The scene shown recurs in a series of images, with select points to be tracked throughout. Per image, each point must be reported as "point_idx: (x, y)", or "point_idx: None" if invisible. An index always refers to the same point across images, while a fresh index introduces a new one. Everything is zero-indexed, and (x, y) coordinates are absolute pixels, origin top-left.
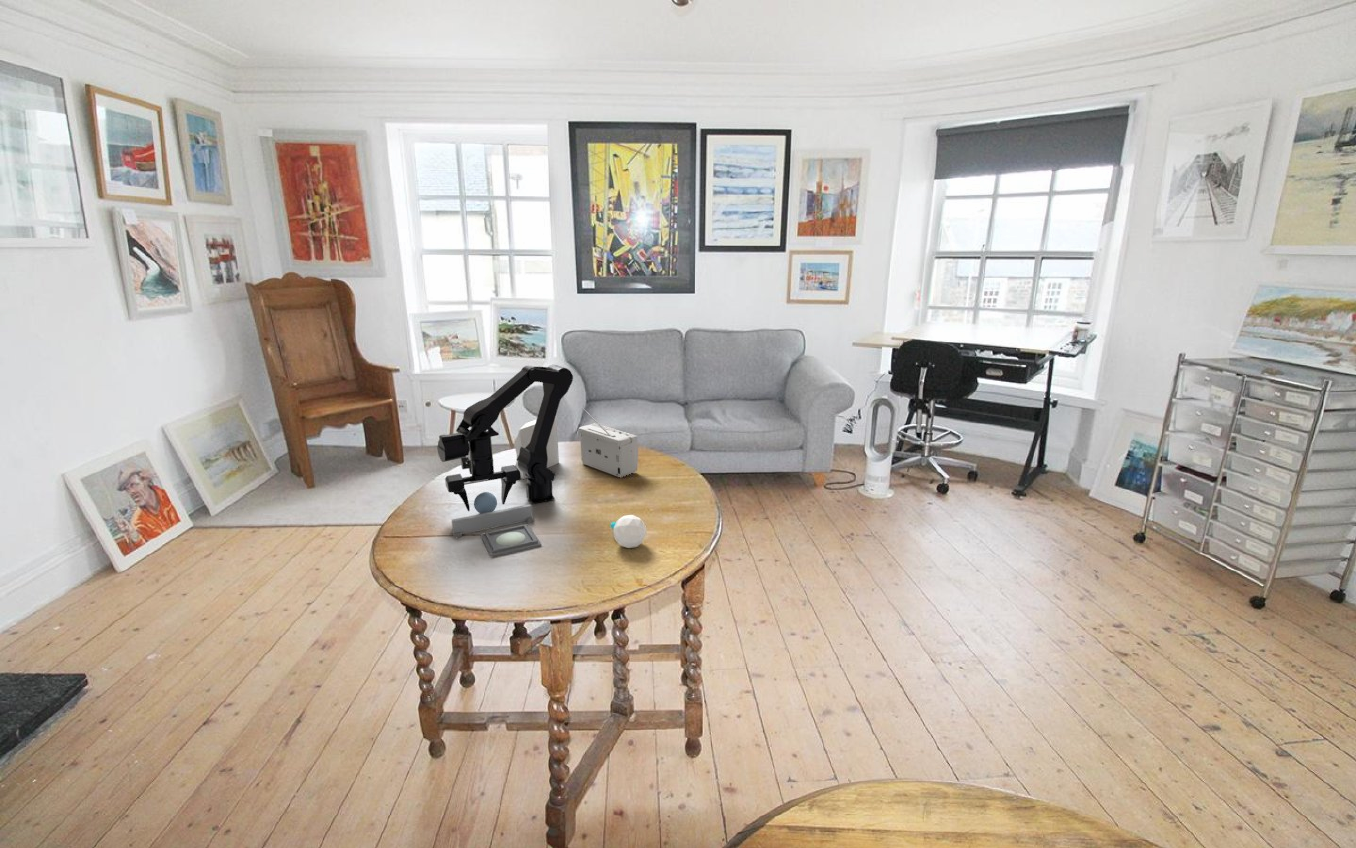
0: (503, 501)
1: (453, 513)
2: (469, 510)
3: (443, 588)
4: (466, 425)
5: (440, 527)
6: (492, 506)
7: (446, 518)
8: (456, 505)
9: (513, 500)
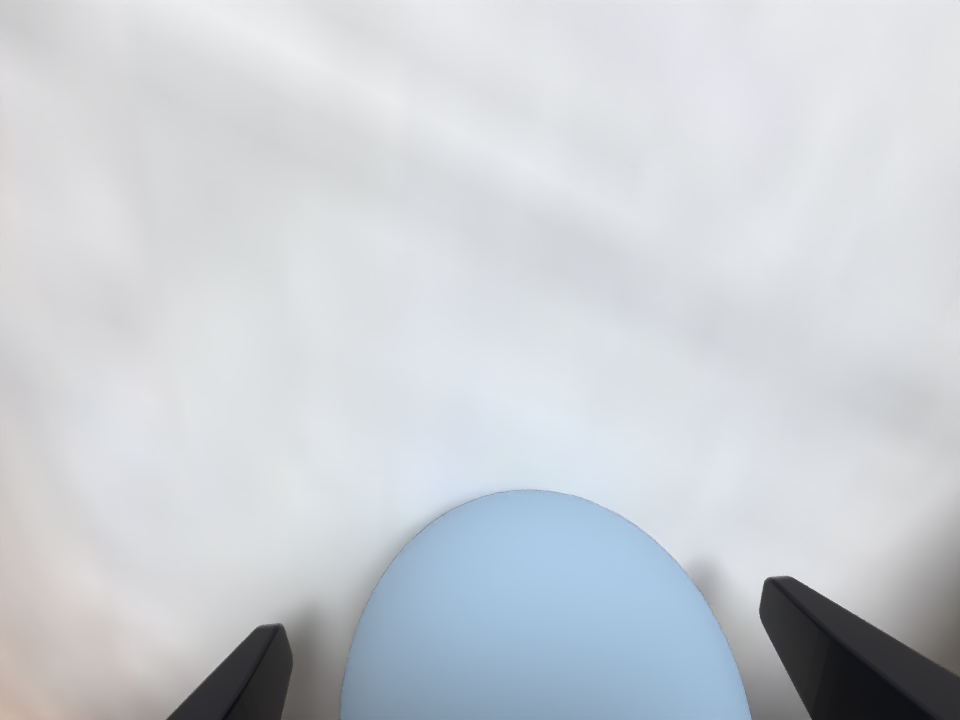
0: (805, 692)
1: (88, 410)
2: (288, 681)
3: None
4: None
5: (15, 692)
6: None
7: (24, 521)
8: (74, 108)
9: (952, 289)
